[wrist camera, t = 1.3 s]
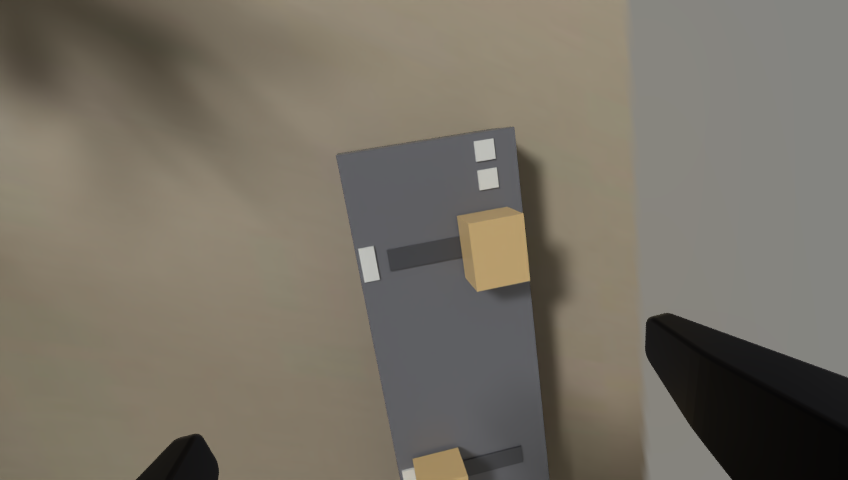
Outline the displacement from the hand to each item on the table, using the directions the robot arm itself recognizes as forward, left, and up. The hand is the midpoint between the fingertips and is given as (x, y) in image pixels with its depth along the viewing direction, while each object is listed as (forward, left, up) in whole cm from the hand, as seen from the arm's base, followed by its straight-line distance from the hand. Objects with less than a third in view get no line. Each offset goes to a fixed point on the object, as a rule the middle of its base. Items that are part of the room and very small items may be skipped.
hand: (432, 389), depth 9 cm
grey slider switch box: (-7, +1, -15) cm, 16 cm away
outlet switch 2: (-3, -4, -12) cm, 12 cm away
